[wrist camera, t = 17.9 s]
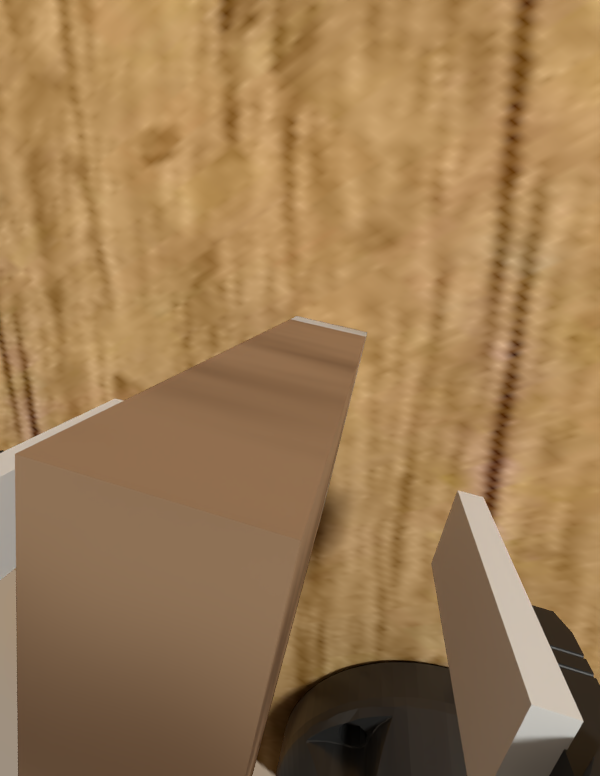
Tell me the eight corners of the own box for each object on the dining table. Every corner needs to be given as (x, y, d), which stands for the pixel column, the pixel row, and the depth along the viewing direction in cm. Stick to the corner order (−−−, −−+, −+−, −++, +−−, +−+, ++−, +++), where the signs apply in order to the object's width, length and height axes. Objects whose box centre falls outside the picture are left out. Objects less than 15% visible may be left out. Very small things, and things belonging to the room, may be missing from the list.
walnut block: (320, 517, 20) (187, 1017, 6) (260, 500, 20) (20, 936, 7) (367, 332, 17) (301, 540, 4) (296, 316, 17) (15, 454, 4)
